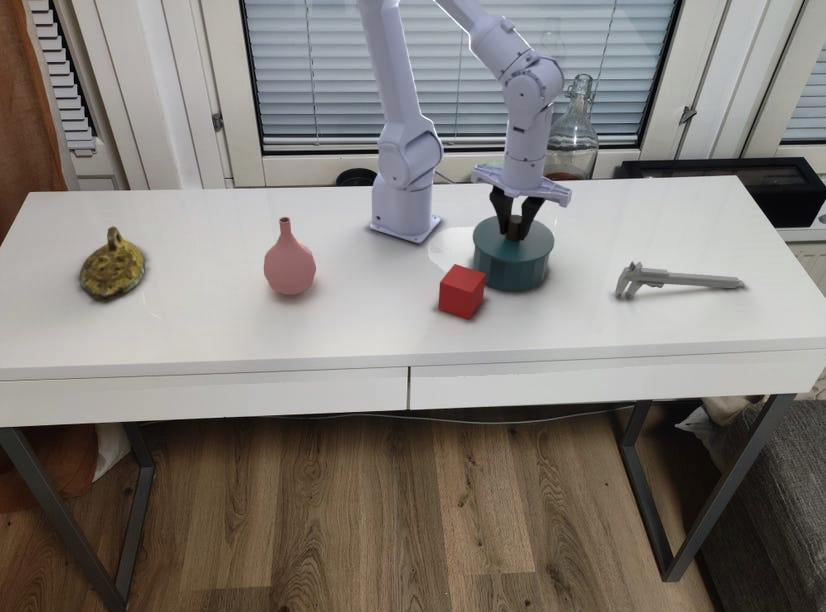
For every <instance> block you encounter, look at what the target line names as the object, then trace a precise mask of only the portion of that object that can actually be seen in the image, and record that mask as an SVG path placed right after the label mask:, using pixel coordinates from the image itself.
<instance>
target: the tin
mask: <svg viewBox="0 0 826 612" xmlns="http://www.w3.org/2000/svg"><path fill="white" fill-rule="evenodd" d="M549 258H550V254H549V255H547V256H546V257H545V258H543V259H541V260H538V261H535V262H531V263H525V264H512V263H505V262H500V261H497V260H494V259H492V258H489V257H487V256H486V255H484V254H483V253H481V252H480V251H479V250H478V249H477V247H476V246H475V245H474V249H473V259H472V260H473V261H472V270H476V271H479V272H482V273H485V274H486V277H485V286H487V287H489V288H492V289H494V290H498V291H502V292H508V293H509V292H510V293H511V292H512V293H513V292H515V293H516V292H517V293H518V292H524V291H528V290H529V291H530V290H531V289H534V288H536V287H537V286H539V285H540V284H541V283H542V282H543V280H544V279H545V277H546V275H547V270H548V264H549V260H550V259H549Z"/></svg>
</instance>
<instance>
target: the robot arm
mask: <svg viewBox="0 0 826 612" xmlns="http://www.w3.org/2000/svg"><path fill="white" fill-rule="evenodd" d="M433 1H434V3H435V4H436V5H437V6H439V8H441V10H443V11H444V12H445V14H447V15H448V16H449V17H450V18H451V19H452V20H453V21H454V22H455V23H456V24H457V25H458V26H459V27H460V28H461V29H462V30H463V31H464V32H465V33H466V34H468V49H469V51H470V52H471V53H472V54H473V56H475V58H477V60H478V61H479V62H480V63H481V64H482V66H483V67H484V68H486V70H487V71H488V72H489V73H490V75H491V76H492V77H493V78H494V79H495V80H496V81H497V82H498V83H499V85H500V86H501V87H502V98H503V99H502V100H503V101H504V104H505V106H506V109H507V125H506V133H505V140H504V141H505V142H504V150H503V159H502V166H491V165H483V164H479V163H476V164H475V166H474V167H472V169H471V173H470V182H471V183H474V184H478V183H479V182H480V183H484V184H487V185H491V186H492V189H491V191H490V192H489V195H488V198H489V201H490V203H491V205H492V207H493V209H494V211H495V213H496V216H497V218H498V222H499V227H500V234H502V235H505V233H506V229H507V221H508V217H509V216H510V215H512V212H513V211H512V210H513V204H514V201H515V199H517V198H519V197H521V196H522V197H526V198H525V199H524V200H523V202H522V203H521V205H520V207H521V216H522V220H521V227H520V232H519V240H522V241H523V240H524V239H525V238H526V236H527V235H528V232H529V229H530V226H531V224H532V222H533V220H534V219H535V218H536V216H537V214H538V213H539V211H540V209H541V208H542V207H543V205H544V204H545V202H546V201H549V202H552V203H555V204H558V206H559V207H560V208H565V209H566V208H567V207H568V206H569V204H570V203H571V201H572V196H573V195H572V194H573V189H572V188H568V187H565V186H563V185H560V184H559V183H557V182H555V181H553V180H551V179H549V178H547V177H545V176H544V170H545V169H544V168H545V164H546V158H547V151H548V145H549V138H550V133H551V132H550V131H551V127H552V126H551V125H552V118H553V112H554V105H555V103H554V102H553V101H555V100H557V98H558V97H559V96H560V95H561V94H562V92H563V91H564V88H565V83H566V80H565V79H566V78H565V74H564V71H563V69H562V67H561V66H560V64H559V62H558V60H557V59H556V58H554V57H553V56H550V55H544V54H540V52H538V51H537V50H536V49H534V48H532V47H531V46H530V45H529V43H528V42H527V41H526V40H525V39H524V38H523V37H522V35H521V34H520V33H519V32H518V31H517V30H516V29H515V28H516V24H515V23H514V22H513V20H511V19H510V18H507V19H506V18H505V16H503V15H502V14H490V13H488V12H487V10H486V9H485V8H484V7H483V6H482V4H481V3H480V2H479V0H433ZM400 2H401V0H356V4H357V9H358V14H359V18H360V21H361V26H362V30H363V35H364V39H365V42H366V48H367V50H368V55H369V59H370V64H371V67H372V72H373V75H374V80H375V85H376V89H377V93H378V95H379V96H378V98H379V102H380V104H381V110H382V113H383V117H384V122H385V123H384V127H383V128H382V131H381V133H380V135H379V138H378V139H377V142H376V146H377V150H378V159H377V167H378V168H377V169H378V173H377V174H376V177H375V178H374V180H373V184H372V188H371V224H370V225H369V228H370V229H371V230H372V231H373V230H374V231H377V232H380V233H383V234H386V235H389V236H393V237H395V238H400V239H403V240H406V241H408V242H411V243H412V242H413V243H415V244H419V245H420V244H422V243H423V242H424V241H425V239H426V238H428V236H430V234H431V233H432V231H433V230H434V229H435V228H436V227H437V226H439V223H440V222H441V219H442V218H441V217H438V216H436V215H433V194H434V175H435V174H436V167H437V166H439V165H440V164H441V162H442V161H443V159H444V155H445V153H444V146H443V143H442V141H441V139H440V138H439V136H438V134H437V132H436V129H435V124H434V122H433V121H432V120H431V119H430V118H428V117H426V116H424V115H423V114H422V112H421V108H420V107H421V106H420V103H419V98H418V94H417V88H416V83H415V78H414V75H413V70H412V65H411V61H410V60H411V59H410V55H409V51H408V46H407V42H406V37H405V31H404V27H403V22H402V18H401V13H400V8H399V3H400Z"/></svg>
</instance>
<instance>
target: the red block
mask: <svg viewBox="0 0 826 612" xmlns="http://www.w3.org/2000/svg"><path fill="white" fill-rule="evenodd" d="M485 277H486V274H485V273H482V272H479V271H476V270H473V268H469V267H466V266H463V265H459V264H456V263H454V264H453V265H452V266H451V268H450V269H449V270H448V271H447V273H445V275H444V276H443V277H442V279H441V280H440V282H439V290H438V306H437V309H438V310H440V311H442V312H446V313H449V314H451V315H455V316H457V317H459V318H462V319H466V320H471V318H472V317H473V316H474V314H475V312H476V311H477V310H478V308H479V307H480V306H481V304H482V303H483V301H484V293H485V286H486V284H485Z"/></svg>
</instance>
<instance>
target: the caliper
mask: <svg viewBox="0 0 826 612" xmlns="http://www.w3.org/2000/svg"><path fill="white" fill-rule="evenodd" d="M629 283H630V284H629ZM628 285H629V286H628ZM643 285H646V286H647V287H650V288H659V289H662V288H663V286H664V285H674V286H675V285H676V286H677V285H678V286H692V287H693V286H694V287H707V288H720V289H733V290H735V289H737V288H738V287H746V284H745V283H744V282H743V281H742V280H740V279H739V278H738V277H737V276H725V275H723V276H722V275H711V274H696V273H682V272H671V271H670V272H669V271H668V270H667V269H662V268H661V269H660V268H651V267H650V268H649V267H643V264H642V262H641V261H638V262H637V263H636V264H635V262H634V261H633V260H632V261H631V262H630V264H629V266H628V267H627V266H625V267H624V268H623V270H622V272H621V273H620V274H619V277H618V279H617V283H616V287H615V291H614V293H615V295H616V297H617V298H619V299H620V298H621V297H622V295H623V293H624V291H625V290H626V288H627V290H626V292H625V295H624V296H626V298H627V299H631V298H632V297H634V295H635V294H636V293H637V292H638V291H639V290H640V289H641V287H642V286H643Z"/></svg>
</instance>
